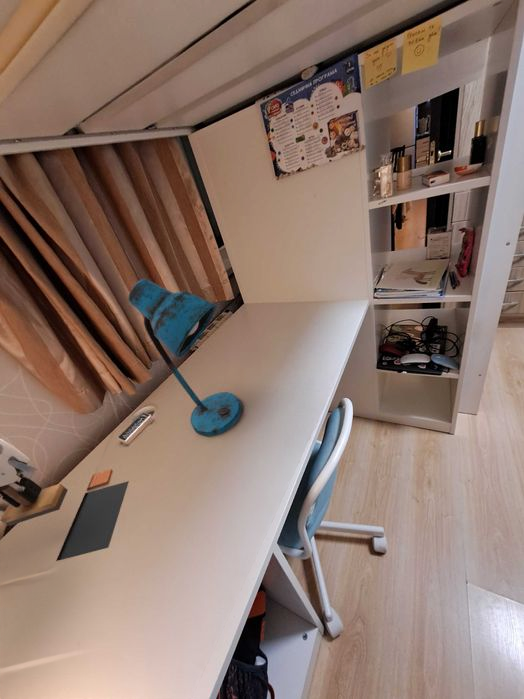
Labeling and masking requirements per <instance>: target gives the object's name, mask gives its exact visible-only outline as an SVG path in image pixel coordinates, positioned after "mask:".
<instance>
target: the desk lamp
mask: <svg viewBox="0 0 524 699" xmlns="http://www.w3.org/2000/svg"><path fill="white" fill-rule="evenodd" d="M127 297H128V303H129V304H130V305H131V306H133V307H134V308H135V309H136V310H137V311H138V312H139V313H140V314H142V316H144V317H143V326H144V328H145V330H146V333H147V334H148V336H149V338H150V340H151V342H152V344H153V345H154V347H155V349H156V351H157V352H158V353H159V355H160V356H161V358H162V359H163V362H165V364H166V365H167V367H168V368H169V370H170V371H171V373H172V374H173V375H174V377H175V379H176V380H177V381H178V383H179V384H180V385H181V386H182V388H183V389H184V391H185V392H186V393H187V395H188V396H189V397H190V399H191V400H192V401H193V403H194V404H195V405H196V406H195V407H194V409H193V410H192V412H191V416H190V424H191V426H192V429H193V430H194V432H195V433H196V434H198V435H200V436H203V437H213V436H217V435H220V434H222V433H225V432H226V431H228V430H230V429H231V428H232V427H233V426H234V425H235V424H236V423H237V422H238V420H239V419H240V416H241V414H242V409H243V408H242V403H241V401H240V399H239V397H237V396H236V395H235V394H233V393H232V392H227V391H226V392H218V393H217V392H216V393H214V394H211V395H209V396H207V397H205V398H204V399H202V400H201V399H200V398H199V397H198V396H197V394H196V392H195V391H194V390H193V389H192V388H191V387H190V385H189V384H188V382H187V381H186V380H185V378H184V376H183V375H182V374H181V373H180V371H179V370H178V368H177V367H176V365H175V364H174V362H173V360H171V358H170V356H169V354H168V353H167V351H166V350H165V348H167V350H168V351H170V352H171V353H172V354H173V355H174V357H176V359H180V358H182V357H183V356H184V355H185V354H186V353H187V352H188V351H189V350H190V349H191V348H192V347H193V346H194V344H195V343H196V342H197V341H198V339H199V337H201V335H202V334H203V332H204V331H205V330H206V328H207V326H208V325H209V324H210V322H211V320H212V318H213V316H214V314H215V312H216V309H217V305H216V304H215V303H213V302H210V301H209V300H207V299H205V298H203V297H200V296H198V295H196V294H194V293H192V292H189V291H187V290H183V291H179V292H172V291H170V290H168V289H166V288H164V287H162V286H161V285H158V284H157V283H155V282H153V281H151V280H149V279H147V278H143V279H140V280H138V281H137V282H136V283H135V284H134V285H133V286H132V288H131V289H130V291H129V293H128V296H127ZM163 346H164V347H165V348H164V347H163Z"/></svg>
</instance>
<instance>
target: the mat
mask: <svg viewBox="0 0 524 699" xmlns="http://www.w3.org/2000/svg"><path fill="white" fill-rule="evenodd" d="M129 482H130V481H129V480H127V481H124V482H121V483H116V484H113V485H109V486H106V487H102V488H99V489H95V490H90V491H87V492H85V493H84V495H83V497H82V500H81V502H80V504H79V507H78V509H77V511H76V513H75V516H74V518H73V521H72V523H71V525H70V528H69V530H68V532H67V534H66V536H65V538H64V541H63V544H62V546H61V548H60V551H59V553H58V555H57V558H56V560H55V561H56V562H59V561H62V560H66V559H70V558H74V557H77V556H81V555H86V554H89V553H93V552H98V551H100V550H105V549H108V548H109V547H110V544H111V541H112V537H113V534H114V531H115V527H116V525H117V522H118V518H119V515H120V511H121V509H122V506H123V502H124V498H125V495H126V493H127V489H128V486H129Z"/></svg>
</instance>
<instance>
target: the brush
mask: <svg viewBox="0 0 524 699" xmlns="http://www.w3.org/2000/svg"><path fill="white" fill-rule="evenodd" d="M17 482H18V483H19V482H20V480H17ZM0 490H1V491H2V492H4V493H5V494H7V495H8V496H9V497H11V498H12V499H14V500H15V501H17V502H18V503H19V504H21V505H20V507H17V508H15V507H14V506H12V505H11V504H9V503H8V506H7V507H6V509H5V511H4V512H3V514H2V516H1V517H0V522H2V523H4V524H6V525H7V526H9V527H10V526H14V525H16V524H19V523H22V522H26V521H29V520H32V519H35V518H38V517H41V516H44V515H48V514H50V513H53V512H56V511H59V510H60V509H61V506H62V504H63V501H64V500H65V497H66V495H67V493H68V489H67V487H65V486H64V485H63V484H62V483H58V484H54V485H51V486H49V487H45V488H42V491H41V492H40V494H39V496H38V498H37V500H36V501H35V502H34V503H30V502H28V501H27V500H26V499H24V498H23V497H21V496H20V495H19V494H18V492H19V491H17V490H16V489H14V488H13V487H11V486H10V485H4V486H1V488H0Z"/></svg>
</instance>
